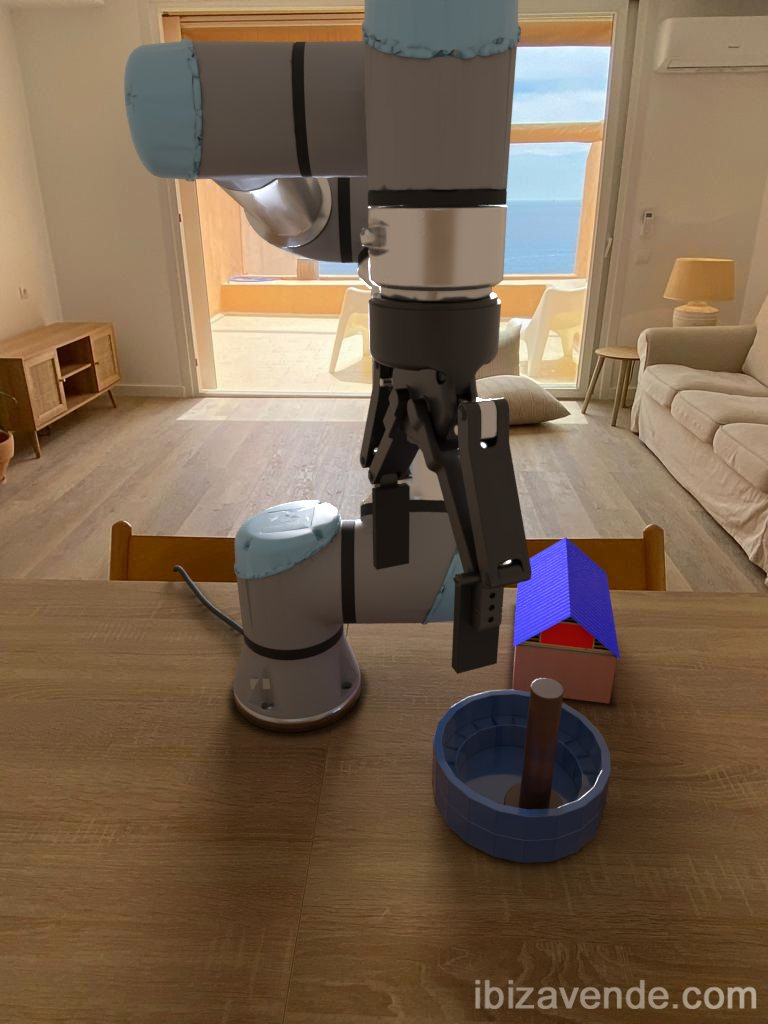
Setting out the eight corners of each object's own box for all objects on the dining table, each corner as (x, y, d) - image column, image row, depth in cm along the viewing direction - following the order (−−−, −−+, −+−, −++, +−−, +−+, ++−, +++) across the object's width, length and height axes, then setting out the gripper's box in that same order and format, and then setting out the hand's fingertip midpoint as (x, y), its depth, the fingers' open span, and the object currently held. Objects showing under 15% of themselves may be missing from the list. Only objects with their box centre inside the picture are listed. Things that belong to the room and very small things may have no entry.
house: (509, 692, 84) (516, 610, 79) (515, 604, 101) (521, 533, 97) (612, 705, 81) (626, 622, 77) (600, 613, 99) (611, 541, 94)
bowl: (406, 761, 74) (407, 713, 71) (540, 720, 79) (545, 674, 76) (482, 894, 60) (486, 841, 57) (638, 834, 65) (649, 783, 62)
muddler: (492, 800, 68) (502, 676, 62) (541, 784, 70) (556, 662, 63) (523, 845, 63) (537, 716, 57) (575, 826, 65) (594, 699, 59)
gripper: (310, 272, 49) (323, 541, 57) (482, 331, 27) (461, 743, 36) (408, 267, 51) (407, 526, 60) (637, 318, 30) (582, 707, 39)
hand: (427, 609), depth 48 cm, fingers open, 13 cm apart
